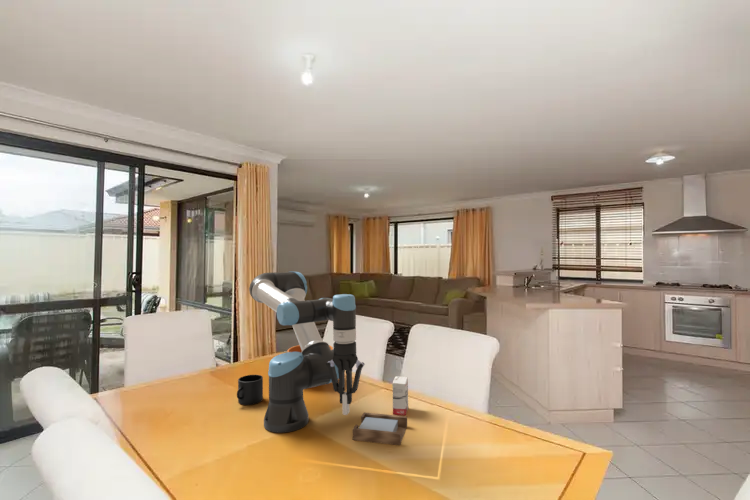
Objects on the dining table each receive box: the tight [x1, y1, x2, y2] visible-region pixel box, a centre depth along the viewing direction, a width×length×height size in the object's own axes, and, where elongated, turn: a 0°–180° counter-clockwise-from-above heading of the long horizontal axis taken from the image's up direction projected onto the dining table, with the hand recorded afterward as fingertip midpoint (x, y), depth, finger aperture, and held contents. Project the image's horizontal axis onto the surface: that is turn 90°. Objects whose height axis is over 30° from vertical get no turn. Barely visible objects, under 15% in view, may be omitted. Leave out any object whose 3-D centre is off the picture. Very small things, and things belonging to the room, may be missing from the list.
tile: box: [358, 417, 398, 432], centre depth 122 cm, size 11×9×3 cm
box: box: [352, 412, 408, 446], centre depth 122 cm, size 15×13×4 cm
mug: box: [236, 374, 264, 406], centre depth 151 cm, size 9×12×9 cm
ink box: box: [392, 375, 409, 416], centre depth 139 cm, size 9×5×12 cm, turn 168°
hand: (346, 413), depth 124 cm, fingers closed
